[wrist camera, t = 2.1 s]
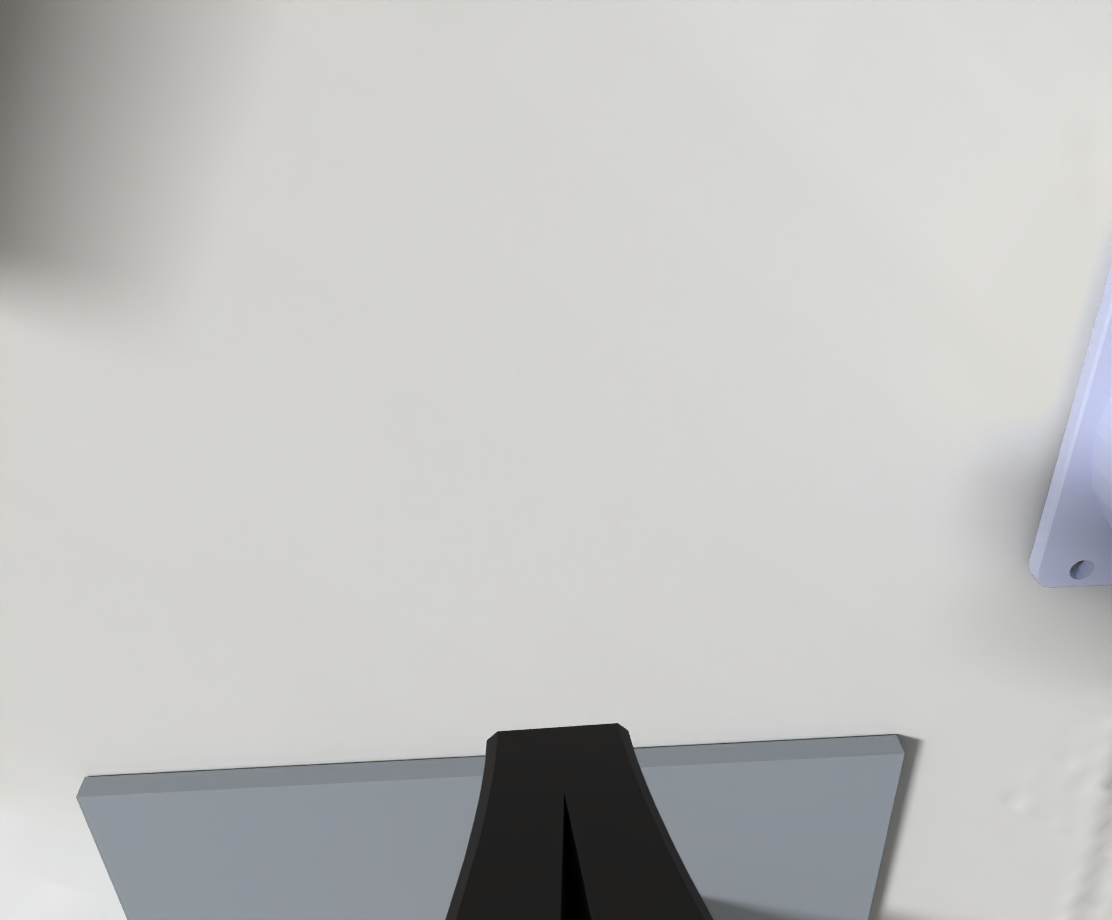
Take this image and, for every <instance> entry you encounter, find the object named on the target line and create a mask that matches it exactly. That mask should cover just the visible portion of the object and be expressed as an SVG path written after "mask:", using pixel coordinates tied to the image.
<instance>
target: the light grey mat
mask: <svg viewBox="0 0 1112 920" xmlns="http://www.w3.org/2000/svg"><path fill="white" fill-rule="evenodd" d="M634 751H635V754H636V757H637V760H638V762H639V765H640V768H641V771H642V773H643V776H644V778H645V781H646V783H647V786H648V788H649V791H650V793H651V795H652V798H653V800H654V802H655V805H656V807H657V809H658V811H659V813H660V816H661V818H662V820H663V822H664V824H665V826H666V828H667V831H668V833H669V835H670V837H671V839H672V841H673V843H674V845H675V847H676V849H677V851H678V853H679V855H680V857H681V859H682V861H683V863H684V865H685V867H686V869H687V871H688V873H689V875H690V877H691V879H692V881H693V882H694V884H695V886H696V888H697V890H698V892H699V893H700V895H701V897H702V899H703V901H704V903H705V905H706V906H707V908H708V910H709V912H710V914H711V916H712V918H713V919H714V920H868V917H869V913H870V908H871V904H872V899H873V895H874V890H875V886H876V881H877V877H878V872H879V868H880V863H881V858H882V854H883V849H884V845H885V840H886V836H887V831H888V827H889V822H890V818H891V813H892V809H893V804H894V800H895V795H896V791H897V786H898V782H899V777H900V773H901V768H902V764H903V759H904V755H905V753H904V751H903V748H902V746H901V744H900V741H899V739H898V737H897V735H886V736H866V737H847V738H828V739H809V740H789V741H770V742H751V743H732V744H713V745H693V746H674V747H655V748H636V749H634ZM485 757H486V756H482V757H463V758H443V759H424V760H405V761H386V762H366V763H347V764H328V765H309V766H290V767H270V768H251V769H232V770H213V771H193V772H174V773H155V774H136V775H117V776H97V777H85V778H84V780H83V782H82V785H81V787H80V789H79V792H78V794H77V796H76V798H77V800H78V803H79V805H80V807H81V810H82V812H83V815H84V817H85V819H86V822H87V824H88V827H89V829H90V831H91V834H92V836H93V839H94V841H95V843H96V846H97V848H98V850H99V853H100V855H101V858H102V860H103V862H104V865H105V867H106V870H107V872H108V874H109V877H110V879H111V882H112V884H113V886H114V889H115V891H116V893H117V896H118V898H119V901H120V903H121V905H122V908H123V910H124V913H125V915H126V917H127V920H445V919H446V916H447V913H448V909H449V906H450V903H451V900H452V896H453V893H454V890H455V887H456V884H457V880H458V877H459V874H460V871H461V867H462V864H463V861H464V857H465V854H466V850H467V846H468V842H469V838H470V834H471V830H472V826H473V822H474V818H475V814H476V810H477V805H478V800H479V795H480V790H481V785H482V779H483V773H484V766H485Z"/></svg>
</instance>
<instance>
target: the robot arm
mask: <svg viewBox="0 0 1112 920" xmlns="http://www.w3.org/2000/svg"><path fill="white" fill-rule="evenodd" d="M1083 560H1084V561H1083ZM1079 561H1083V563H1082V564H1080V565H1079V566H1077V567H1073V568H1072V566H1073V565H1074V564H1076V563H1077V562H1079ZM1029 570H1030V572H1031V573H1032V575H1033V576H1034V578H1035V579H1036V581H1037V582H1038V583H1039V584H1041V585H1042V586H1044V587H1052V588H1056V587H1076V586H1096V585H1112V263H1111V267H1110V271H1109V274H1108V278H1107V281H1106V285H1105V289H1104V292H1103V296H1102V300H1101V303H1100V307H1099V310H1098V314H1097V318H1096V321H1095V325H1094V329H1093V332H1092V336H1091V339H1090V343H1089V347H1088V350H1087V354H1086V358H1085V361H1084V365H1083V369H1082V372H1081V376H1080V379H1079V383H1078V387H1077V390H1076V394H1075V398H1074V401H1073V405H1072V408H1071V412H1070V416H1069V419H1068V423H1067V427H1066V430H1065V434H1064V437H1063V441H1062V445H1061V448H1060V452H1059V456H1058V459H1057V463H1056V467H1055V470H1054V474H1053V477H1052V481H1051V485H1050V488H1049V492H1048V496H1047V499H1046V503H1045V506H1044V510H1043V514H1042V517H1041V521H1040V525H1039V528H1038V532H1037V535H1036V539H1035V543H1034V546H1033V550H1032V554H1031V557H1030V561H1029ZM445 920H714V919H713V918H712V916H711V914H710V912H709V910H708V908H707V906H706V905H705V903H704V901H703V899H702V897H701V895H700V893H699V892H698V890H697V888H696V886H695V884H694V882H693V881H692V879H691V877H690V875H689V873H688V871H687V869H686V867H685V865H684V863H683V861H682V859H681V857H680V855H679V853H678V851H677V849H676V847H675V845H674V843H673V841H672V839H671V837H670V835H669V833H668V831H667V828H666V826H665V824H664V822H663V820H662V818H661V816H660V813H659V811H658V809H657V807H656V805H655V802H654V800H653V798H652V795H651V793H650V791H649V788H648V786H647V783H646V781H645V778H644V776H643V773H642V771H641V768H640V765H639V762H638V760H637V757H636V754H635V751H634V748H633V745H632V742H631V739H630V735H629V731H628V730H626V729H625V728H624V727H622V726H621V725H620V724H618V723H614V724H599V725H585V726H570V727H556V728H541V729H527V730H512V731H498V732H496V733H495V734H494V735H493V736H492V737H490V738H489V739H488V740H487V745H486V757H485V766H484V773H483V779H482V785H481V790H480V795H479V800H478V805H477V810H476V814H475V818H474V822H473V826H472V830H471V834H470V838H469V842H468V846H467V850H466V854H465V857H464V861H463V864H462V867H461V871H460V874H459V877H458V880H457V884H456V887H455V890H454V893H453V896H452V900H451V903H450V906H449V909H448V913H447V916H446V919H445Z"/></svg>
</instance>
